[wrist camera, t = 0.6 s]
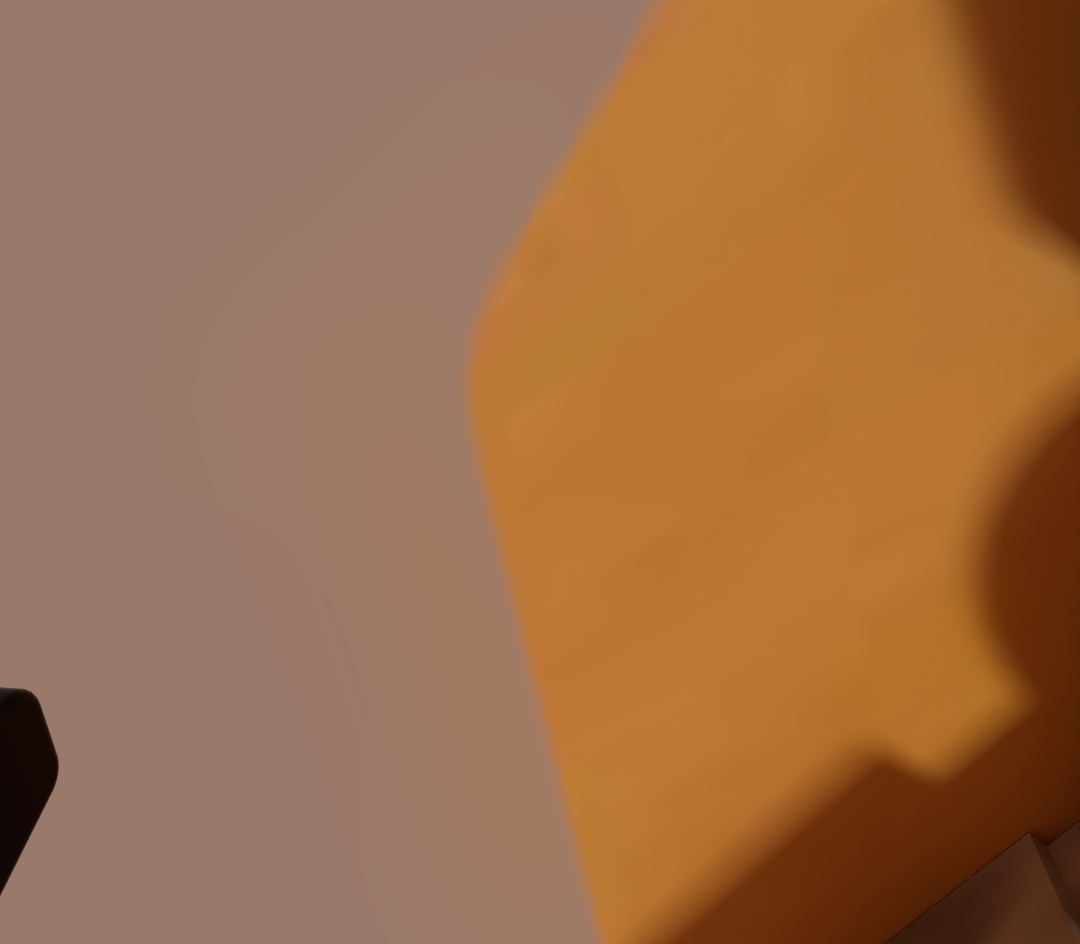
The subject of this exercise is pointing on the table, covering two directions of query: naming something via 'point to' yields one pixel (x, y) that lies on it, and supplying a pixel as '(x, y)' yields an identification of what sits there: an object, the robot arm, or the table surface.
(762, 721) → the table surface
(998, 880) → the wooden three-arm spinner
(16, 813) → the robot arm
